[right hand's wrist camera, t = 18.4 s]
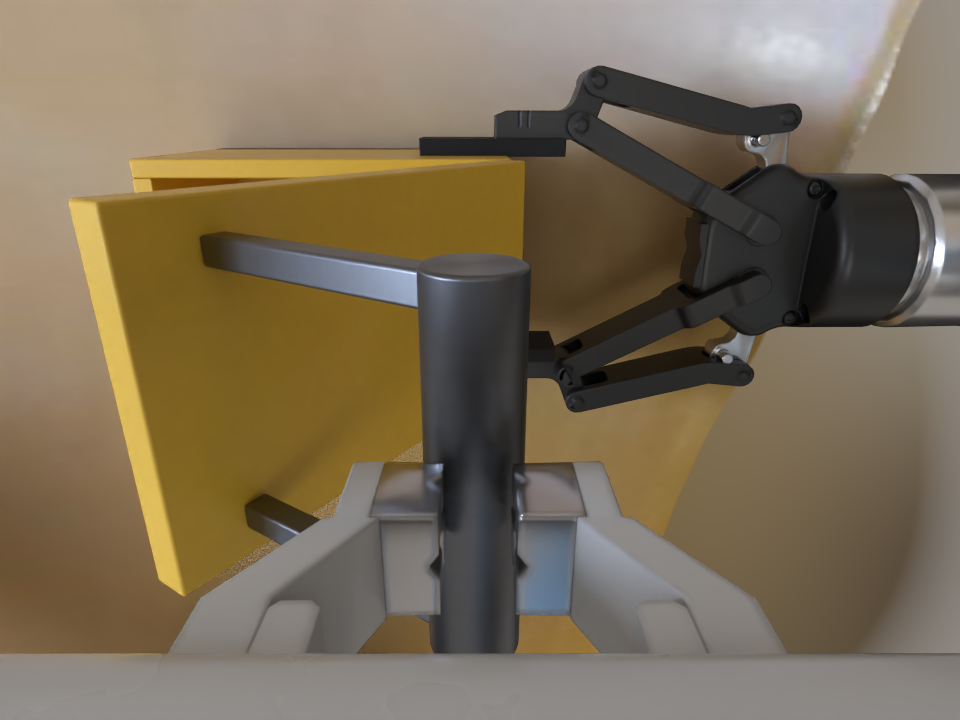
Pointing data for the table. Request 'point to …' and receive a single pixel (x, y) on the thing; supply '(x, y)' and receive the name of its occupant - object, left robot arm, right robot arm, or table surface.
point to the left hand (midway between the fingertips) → (425, 252)
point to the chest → (275, 165)
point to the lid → (320, 361)
